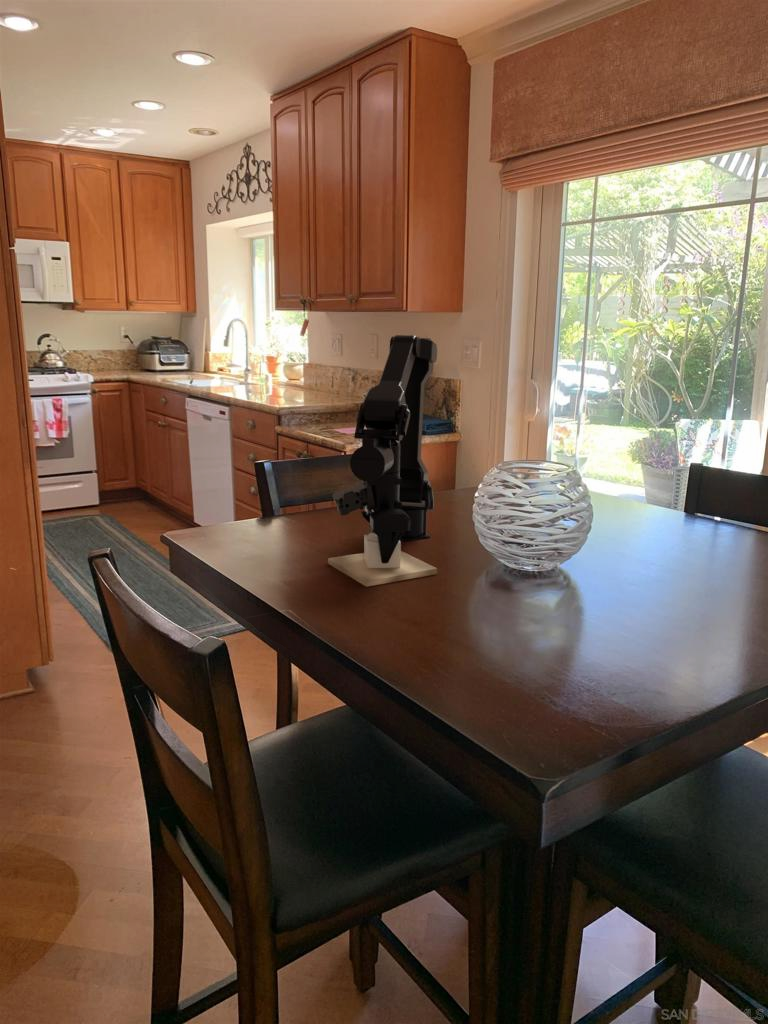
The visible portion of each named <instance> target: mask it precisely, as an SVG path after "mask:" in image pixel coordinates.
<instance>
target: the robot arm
mask: <svg viewBox="0 0 768 1024" xmlns="http://www.w3.org/2000/svg"><path fill="white" fill-rule="evenodd" d="M388 351H389V353H388V355H387V358H386V362H385V364H384V368H383V371H382V374H381V377H380V380H379V382H378V384H377V385H375V386H374V387H371V389H369V390H368V392H367V393H366V395H365V397H364V399H363V402H361V403H360V407H359V409H358V417H357V420H356V426H355V430H354V435H353V436H354V437H353V438H354V439H355V440H362V441H361V446H359V447H358V448H356V449H355V450H354V451H353V453H352V455H351V457H350V459H349V467H350V469H351V470H350V471H351V472H352V474H353V475H354V476H355V477H356V478H357V479H358V480H360V481H362V482H361V483H358V484H355V485H353V486H349V487H347V488H344V489H342V490H339V491H336V492H334V493H333V494H332V498H333V500H334V504H335V505H336V508H337V511H338V513H339V515H340V516H343V517H344V516H347V515H349V514H350V513H351V512H354V511H357V510H361V511H360V514H361V516H362V517H363V518H364V519H365V520H366V521H367V522H368V523H369V524H368V528H369V529H370V531H371V532H370V533H372V532H374V533H375V534H376V535H377V538H378V544H379V550H380V556H381V562H382V563H388V562H389V560H390V558H391V556H392V554H393V552H394V550H395V548H396V546H397V544H398V542H399V540H400V541H402V542H411V541H417V540H424V539H430V538H431V535H430V534H428V533H427V512H428V511H429V510H430V511H431V510H434V508H435V507H434V506H435V501H434V500H435V496H434V492H433V489H434V488H433V487H432V486H431V481H430V480H429V476H428V475H429V471H428V469H427V466H426V465H425V464H424V462H423V459H422V440H423V439H422V437H423V421H424V419H423V417H424V400H425V397H424V395H425V384H426V382H427V381H428V380H429V378H430V377H431V376H432V374H433V371H434V363H436V362H437V357H438V347H437V344H436V343H435V342H434V341H433V340H432V339H431V338H430V337H420V336H416V335H414V334H413V335H411V334H410V335H407V334H406V335H405V334H396V335H394V336H391V337H390V340H389V350H388ZM363 509H364V510H363Z"/></svg>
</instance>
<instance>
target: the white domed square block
mask: <svg viewBox="0 0 768 1024" xmlns="http://www.w3.org/2000/svg"><path fill="white" fill-rule="evenodd" d="M363 538H364V540H363V543H364V545H363V548H364V549H363V550H364V551H363V553H364V560H365V562H366V564H367V567H368V568H399V567H400V560H401V551H402V542H401V540H399V542H398V544H397V546H396V548H395V550H394V552H393V554H392V556H391V558H390V560H389V562H388V563H382V562H381V556H380V550H379V544H378V538H377V535H376V534H375V533H374V532H369V533H368V534H364V537H363Z"/></svg>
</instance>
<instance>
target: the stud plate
mask: <svg viewBox="0 0 768 1024" xmlns="http://www.w3.org/2000/svg"><path fill="white" fill-rule="evenodd" d="M327 564H328V565H330V566H331V567H333V568H335V569H336V570H338V571H340V572H341V573H343V574H345V575H346V576H348V577H349V578H352V579H353V580H354V581H356V582H358V583H360V584H361V585H362V586H364V587H372V586H377V585H384V584H389V583H396V582H399V581H404V580H405V581H406V580H410V579H416V578H422V577H423V578H424V577H427V576H432V575H437V574H438V568H437V567H434V566H433V565H430V564H429V563H427V562H425V561H423V560H421V559H419V558H416V557H415V556H412V555H410V554H408V553H406V552H404V551H402V550H401V560H400V567H399V568H368V567H367V564H366V562H365V560H364V552H361V553H355V554H346V555H342V556H335V557H328V558H327Z"/></svg>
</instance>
